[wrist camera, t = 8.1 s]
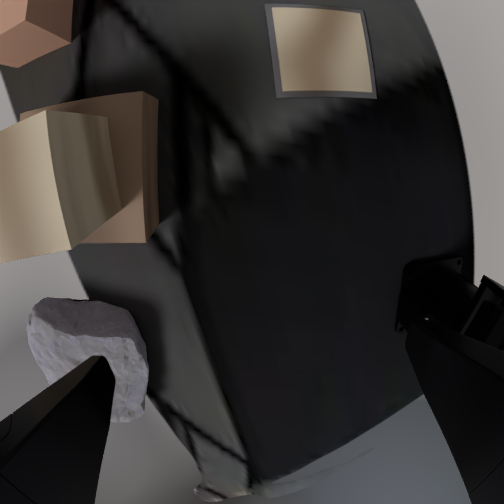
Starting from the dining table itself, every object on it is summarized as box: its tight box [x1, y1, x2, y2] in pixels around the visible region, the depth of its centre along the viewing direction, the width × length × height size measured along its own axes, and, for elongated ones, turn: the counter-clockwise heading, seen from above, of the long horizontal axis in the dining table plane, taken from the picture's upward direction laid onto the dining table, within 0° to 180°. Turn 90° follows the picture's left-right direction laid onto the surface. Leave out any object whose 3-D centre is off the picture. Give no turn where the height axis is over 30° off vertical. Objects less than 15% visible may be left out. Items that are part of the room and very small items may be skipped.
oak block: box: [0, 110, 122, 263], centre depth 11 cm, size 5×5×6 cm
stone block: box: [26, 297, 149, 422], centre depth 21 cm, size 12×5×10 cm
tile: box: [264, 4, 377, 99], centre depth 15 cm, size 7×7×1 cm
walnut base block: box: [20, 91, 159, 243], centre depth 16 cm, size 8×8×4 cm
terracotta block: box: [0, 0, 73, 68], centre depth 10 cm, size 5×5×6 cm
